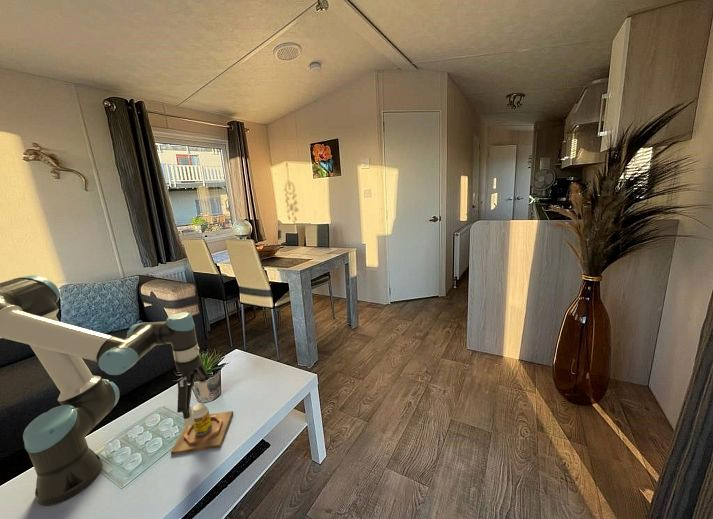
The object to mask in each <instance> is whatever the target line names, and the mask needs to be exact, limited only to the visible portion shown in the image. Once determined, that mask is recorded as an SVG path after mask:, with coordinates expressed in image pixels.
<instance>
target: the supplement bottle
mask: <svg viewBox="0 0 713 519" xmlns="http://www.w3.org/2000/svg"><path fill="white" fill-rule="evenodd" d="M192 413H193V418H194V425H193V426H194V430H195V433H196V435H204V434H206V433H207V432H209V431H210V429H211V427H212V424H211V420H210V415H209V414H210V411H209V408H208V407H207V406H206V404H205V403H204V402H199V403H196V404H195V405H193V407H192Z"/></svg>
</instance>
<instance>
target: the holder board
mask: <svg viewBox="0 0 713 519" xmlns="http://www.w3.org/2000/svg"><path fill="white" fill-rule="evenodd" d="M209 415H210V420H211V424H212V427H211V429H210V431H209V432H207V433H206V434H204V435H196V433H195V430H194V426H193V425H186V426H185V425H184V428H183V429H182V431H181V433H180V434H179V437H178V439H177V440H176V442H175V443H174V445H173V447H172V449H171V451H170V455H171V456H175V455H181V454H189V453H192V452H198V451H200V452H201V451H206V450H212V449H213V450H214V449H218V448H221V447H222V444H223V441H224V439H225V436H226V433H227V430H228V428H229V426H230V423H231V420H232V418H233V415H234V411H233V410H229V411H225V412H224V411H223V412H217V413H209Z"/></svg>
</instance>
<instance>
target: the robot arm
mask: <svg viewBox="0 0 713 519" xmlns="http://www.w3.org/2000/svg"><path fill="white" fill-rule="evenodd" d="M60 296H61V292H60V290H59V288H58V286H57V285H56V284H55V283H54V282H53V281H52V280H50V279H48V278H46V277H42V276H40V275H26V276H20V277H17V278H13V279H9V280H6V281H2V282H0V339H4V340H8V341H9V340H10V341H13V342H17V343H22V344H25V345H29V346H30V348H31V349H32V351H33V352H34V354H35V356H36V357H37V358H38V360H39V362H40V363H41V365H42V366H43V367H44V369H45V370H46V372H47V375H49V377H50V379H51V380H52V382H53V383H54V384H55V386H56V387H57V389H58V390H59V391H60V394H59V396H58V398H57V401H58V403H59V404H60V405H59V406H56V407H55V406H54V407H53V408H51V409H49V410H48V411H46V412H43V413H41V414H40V415H38V416H37V417H35V418H34V419H32V421H31V422H30V423H29V424H28V425H27V426H26V427H25V429H24V431H23V434H22V438H23V442H24V444H23V446H24V449H25V450H26V452H27V454H28V456H29V458H30V461H31V463H32V465H33V468H34V470H35V473H36V483H35V484H36V485H35V487H36V488H35V492H34V495H35V499H36V501H37V503H38V504H39V505H40V506H52V505H56V504H59V503H62V502H64V501H67V500H69V499H71V498H72V497H75V496H76V495H77V494H79V493H81V492H82V491H83V490H85V489H86V488H87V487H89V486H90V485H91V484H92V483H94V481H95V480H97V477H98V476H99V475H100V473H101V471H102V469H103V462H102V459H101V457H100V456H99V455H98V454H97V453H95V452H94V451H93V449H91V448H90V447H89V445H88V443H87V442H88V441H87V438H86V436H87V435H88V434H89V433H90V432H91V431H92V430H93V429H94V428H95V427H96V426H97V425H98V424H99V423H100V422H101V421H102V420H103V419H104V418H105V417H106V416H107V415H109V414H110V413H111V412H112V410H113V408H114V407H116V405H117V403H118V402H119V399H120V390H119V387H118V386H117V385H116V383H114V381H110V379H105V378H102V376H99V375H94V374H92V372H91V370H90V369H89V367H88V365H87V364H86V363H85V361H84V360H88V361H92V362H96V363H98V367H99V369H100V370H101V371H102V372H105V374H107V375H110V376H119V375H122V374H124V373H125V372H127V371H128V370H129V369H131V368H132V367H134V366H135V365H137V362H138V361H140V360H141V358H143V357H144V356H145V355H147V353H149V352H150V351H151V350H152V349H153V348H154V347H156V346H161V345H169V344H170V345H171V348H172V355H173V359H174V364H175V368H176V371H177V373H180V374H181V376H182V378H181V380H178V381H177V407H176V408H177V411H176V412H177V413H182V416H183V421H184V422H183V423H184V427H185V426H186V425H194V418H193V413H192V412H193V407H192V406H191V398H192V392H193V391H192V390H193V388H194V387H195V381H196V380H197V381H198V382H197V386H198V389H199V394H200V395H199V397H200V399H204V398H210V395H209V390H208V384H207V381H209V379H210V378H209V372H208V371H207V369H206V367H205V366H204V364H203V362H202V359H201V354H200V346H199V344H198V339H197V334H196V324H195V322H194V319H193V315H192V314H191V313H190V312H187V311H186V312H185V311H183V312H182V311H181V312H178V313H174V314H171V315H169V316H168V317H167V318H166V320H165V321H153V322H151V321H150V322H148V321H147V322H145V321H144V322H141V323H140V322H139V323H136V324H132V325H131V326H130V327H129V330H127V333H126V337H125V338H121V337H118V336H114V335H111V334H106V333H103V332H99V331H96V330H92V329H88V328H84V327H80V326H77V325H74V324H69V323H66V322H62V321H60V320H59V319H58V317H57V315H58V313H59V310H60V309H59V306H58V305H57V303H58V301H59V299H60Z"/></svg>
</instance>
